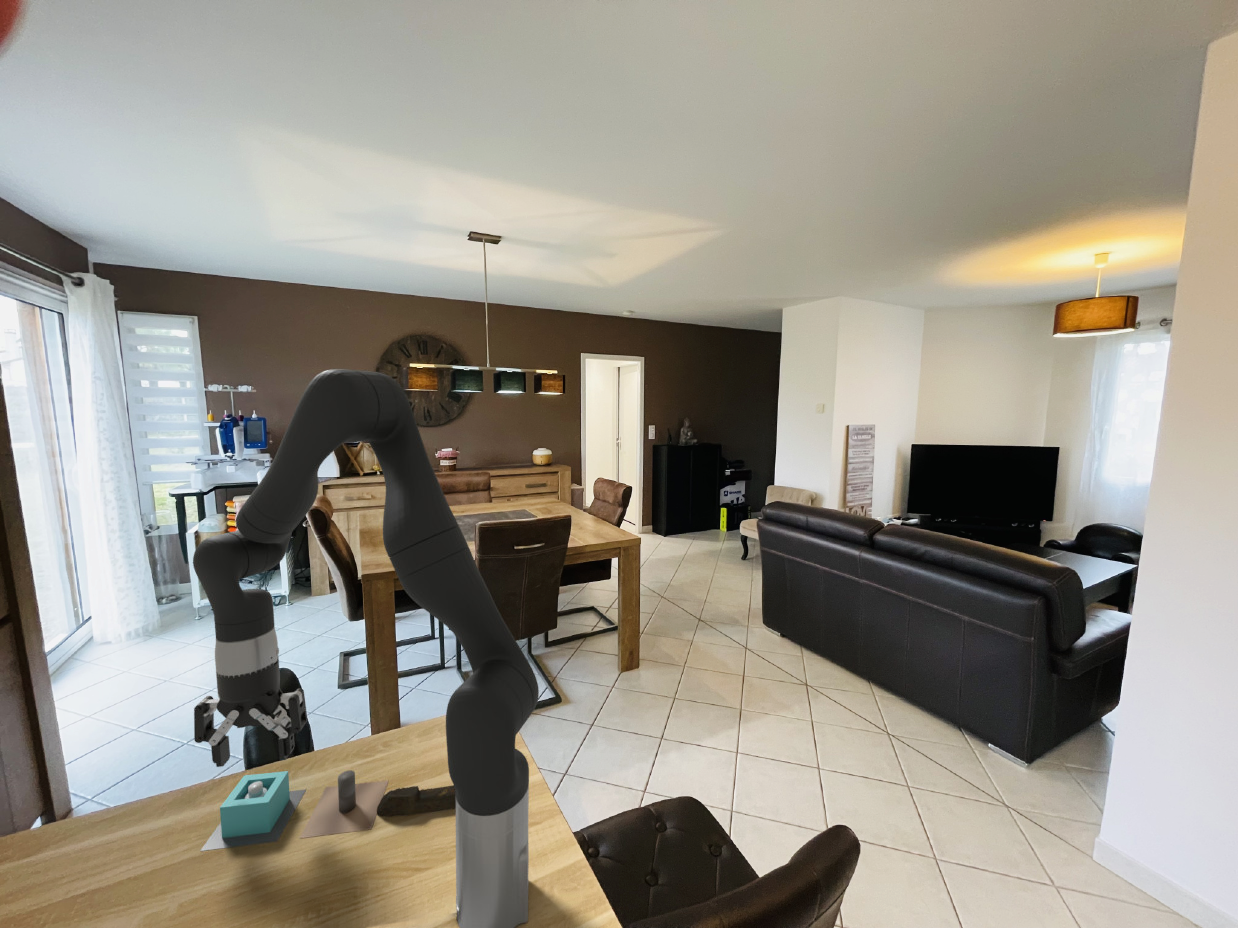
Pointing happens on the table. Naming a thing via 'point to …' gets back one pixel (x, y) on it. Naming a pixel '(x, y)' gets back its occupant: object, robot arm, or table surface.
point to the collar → (254, 805)
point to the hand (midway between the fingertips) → (255, 759)
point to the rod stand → (345, 807)
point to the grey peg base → (272, 836)
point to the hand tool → (416, 801)
